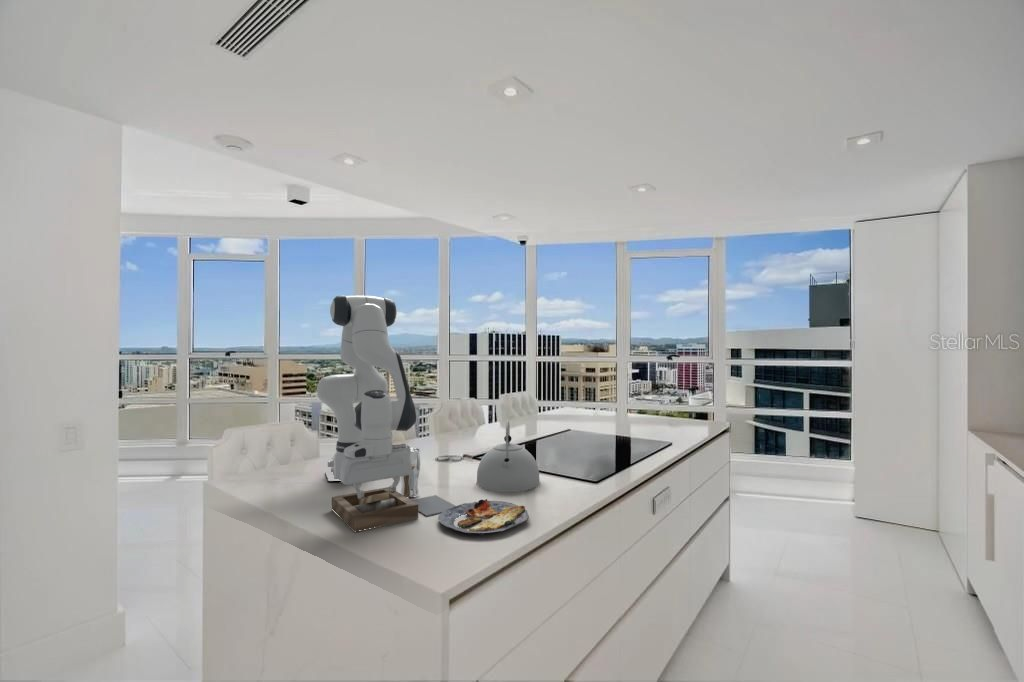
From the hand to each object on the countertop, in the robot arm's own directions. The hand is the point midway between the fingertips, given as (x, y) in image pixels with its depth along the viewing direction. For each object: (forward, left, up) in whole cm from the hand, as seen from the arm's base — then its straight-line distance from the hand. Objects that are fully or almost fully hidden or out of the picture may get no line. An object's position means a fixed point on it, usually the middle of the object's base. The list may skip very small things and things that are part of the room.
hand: (377, 495), depth 143 cm
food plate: (+21, +23, -7) cm, 32 cm away
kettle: (-6, +50, -7) cm, 51 cm away
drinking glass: (-14, +16, -6) cm, 22 cm away
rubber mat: (0, +17, -6) cm, 18 cm away
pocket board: (-3, 0, -6) cm, 7 cm away
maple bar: (-3, 0, -2) cm, 3 cm away
